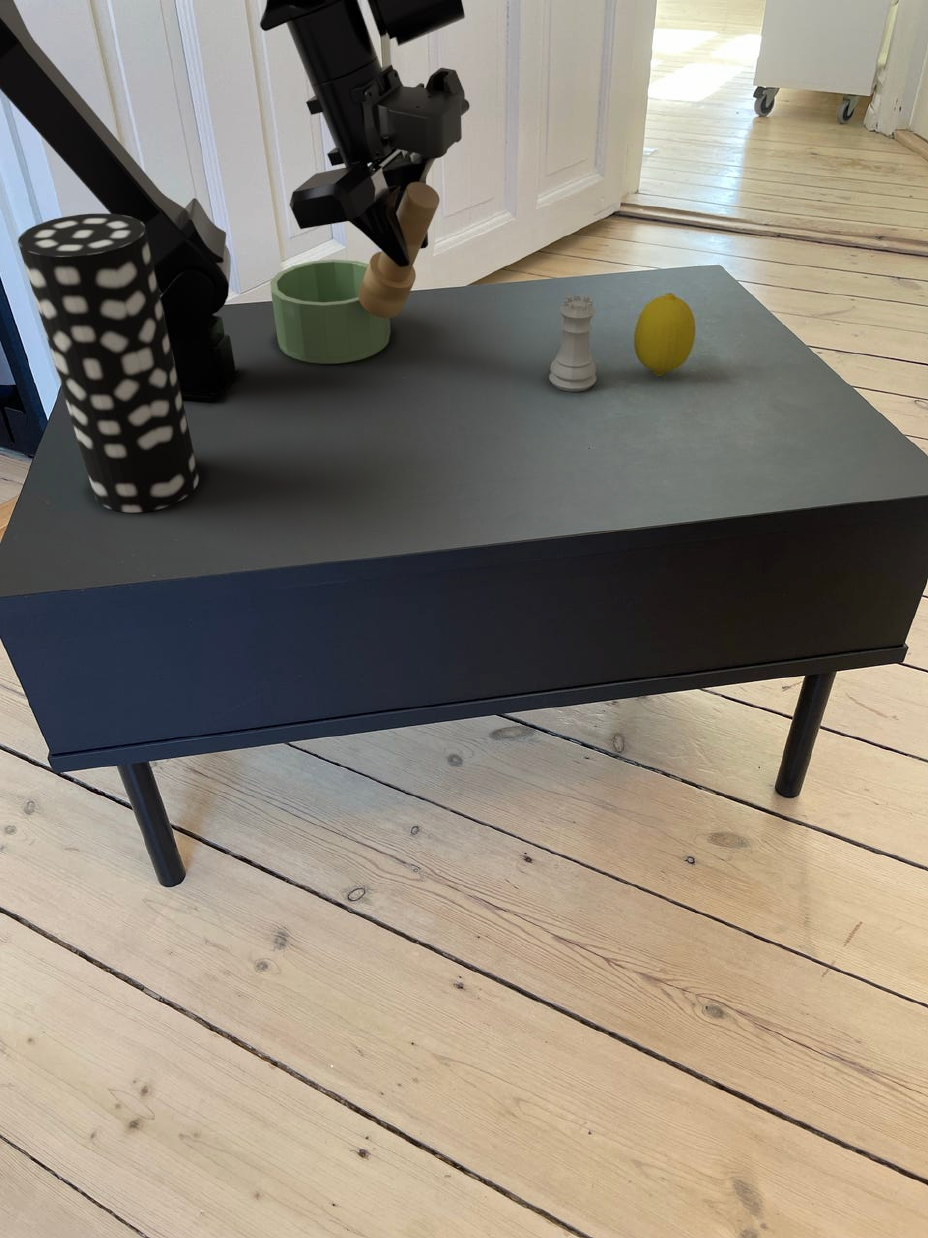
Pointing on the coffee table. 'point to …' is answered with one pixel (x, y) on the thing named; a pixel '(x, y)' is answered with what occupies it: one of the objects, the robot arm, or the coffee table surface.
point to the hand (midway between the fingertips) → (413, 256)
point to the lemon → (664, 334)
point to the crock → (325, 313)
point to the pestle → (383, 276)
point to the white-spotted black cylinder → (113, 357)
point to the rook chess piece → (574, 347)
